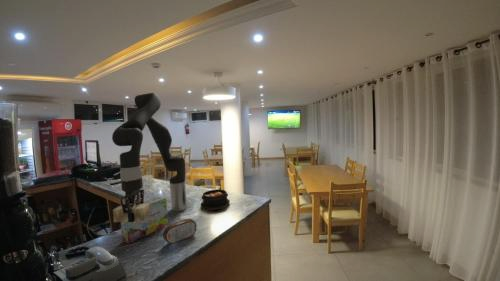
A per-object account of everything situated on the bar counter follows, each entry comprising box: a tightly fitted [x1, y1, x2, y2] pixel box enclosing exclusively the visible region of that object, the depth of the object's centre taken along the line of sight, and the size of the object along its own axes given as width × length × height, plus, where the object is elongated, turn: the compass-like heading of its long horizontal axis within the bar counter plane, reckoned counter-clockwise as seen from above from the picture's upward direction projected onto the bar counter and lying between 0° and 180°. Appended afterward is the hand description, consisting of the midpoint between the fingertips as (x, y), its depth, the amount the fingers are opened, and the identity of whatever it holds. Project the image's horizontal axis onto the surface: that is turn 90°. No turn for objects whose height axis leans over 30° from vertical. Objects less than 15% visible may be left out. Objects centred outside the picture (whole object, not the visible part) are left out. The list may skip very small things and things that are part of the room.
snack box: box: [120, 196, 169, 245], centre depth 107 cm, size 21×6×15 cm, turn 149°
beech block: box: [112, 204, 150, 223], centre depth 88 cm, size 5×5×12 cm
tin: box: [162, 218, 198, 244], centre depth 99 cm, size 15×3×8 cm, turn 130°
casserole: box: [200, 189, 230, 211], centre depth 140 cm, size 25×19×8 cm
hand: (135, 218), depth 88 cm, fingers closed on beech block, 5 cm apart
